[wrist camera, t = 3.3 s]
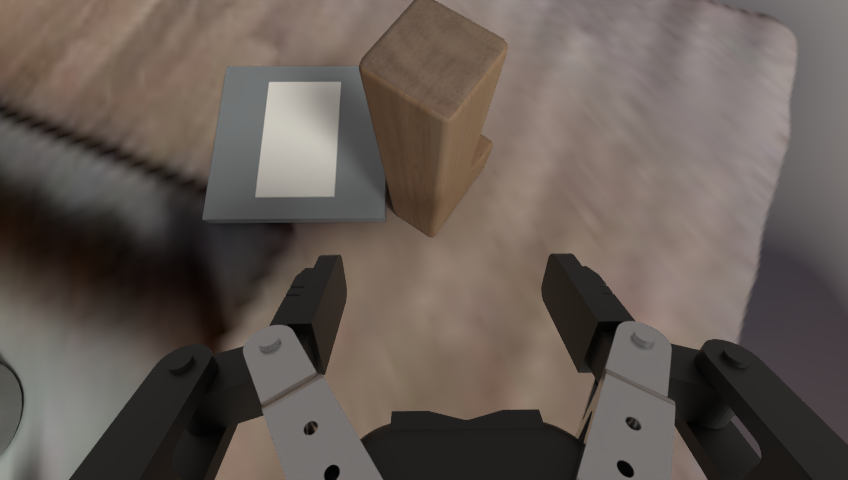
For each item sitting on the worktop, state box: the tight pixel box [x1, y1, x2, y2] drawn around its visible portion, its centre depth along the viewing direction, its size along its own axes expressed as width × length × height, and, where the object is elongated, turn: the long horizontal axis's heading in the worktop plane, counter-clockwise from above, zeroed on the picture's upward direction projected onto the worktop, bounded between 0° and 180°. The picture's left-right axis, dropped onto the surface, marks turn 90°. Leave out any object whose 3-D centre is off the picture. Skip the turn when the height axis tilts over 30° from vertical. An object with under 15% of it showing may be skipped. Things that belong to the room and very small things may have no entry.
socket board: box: [202, 66, 387, 223], centre depth 30 cm, size 16×16×1 cm
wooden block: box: [359, 0, 508, 237], centre depth 21 cm, size 9×4×18 cm, turn 145°
